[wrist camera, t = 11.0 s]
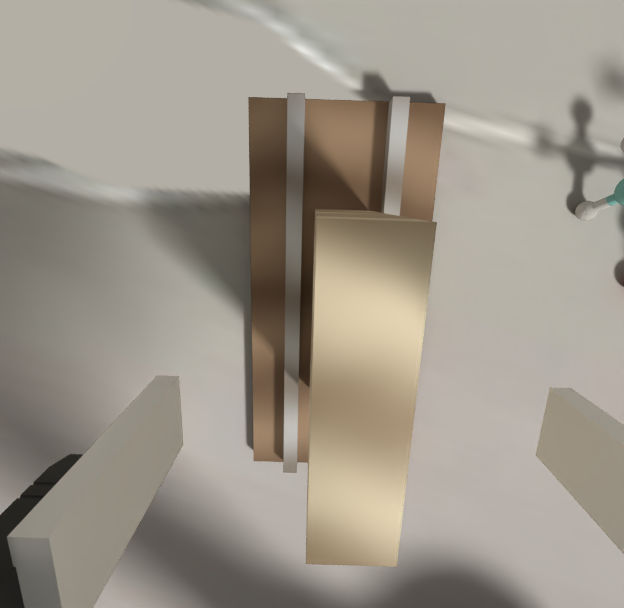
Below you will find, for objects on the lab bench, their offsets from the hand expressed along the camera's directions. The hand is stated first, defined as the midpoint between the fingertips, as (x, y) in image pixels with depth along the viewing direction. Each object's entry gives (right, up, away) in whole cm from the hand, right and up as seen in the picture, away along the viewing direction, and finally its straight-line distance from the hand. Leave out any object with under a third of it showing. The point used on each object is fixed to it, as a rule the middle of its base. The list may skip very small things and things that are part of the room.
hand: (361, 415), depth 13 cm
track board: (0, +4, +14) cm, 14 cm away
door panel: (0, +4, +13) cm, 13 cm away
